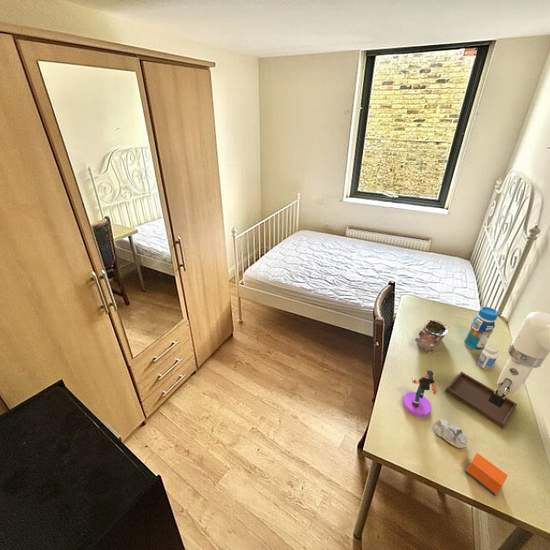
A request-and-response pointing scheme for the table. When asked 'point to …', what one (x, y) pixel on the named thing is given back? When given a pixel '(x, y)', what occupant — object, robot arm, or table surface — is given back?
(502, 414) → the tray
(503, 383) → the robot arm
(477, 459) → the orange rectangular block
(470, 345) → the blue lidded jar
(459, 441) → the stone
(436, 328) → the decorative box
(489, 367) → the pill bottle
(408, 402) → the figurine
